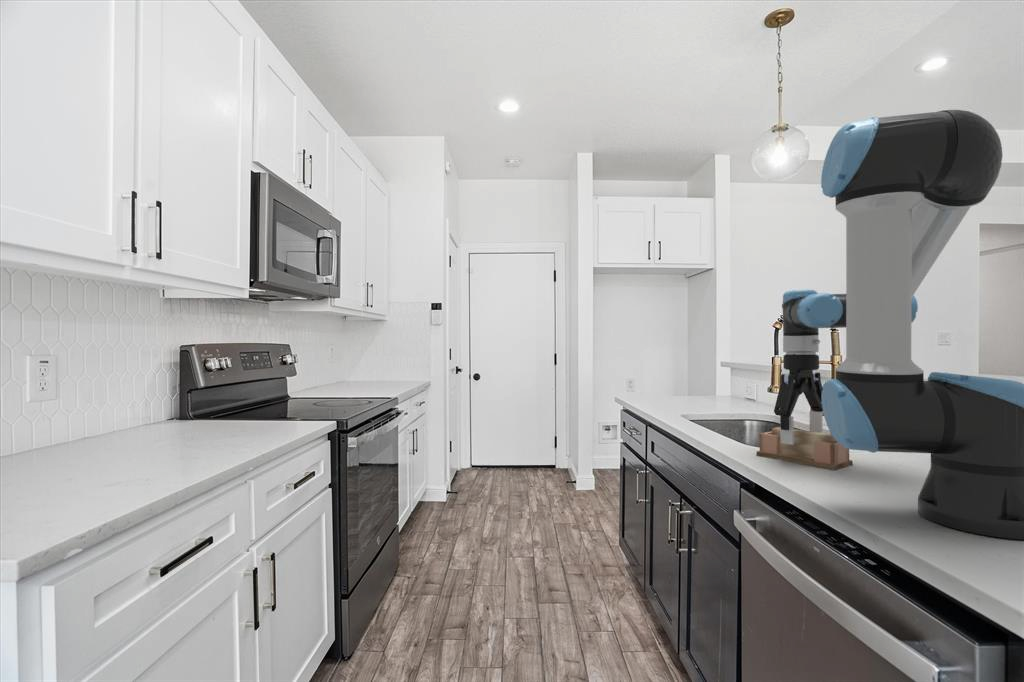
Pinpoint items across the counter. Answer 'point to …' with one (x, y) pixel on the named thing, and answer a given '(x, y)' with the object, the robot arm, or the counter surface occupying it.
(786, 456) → the board
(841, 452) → the brown slotted stand
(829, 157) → the robot arm
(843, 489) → the counter surface
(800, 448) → the birch slat
